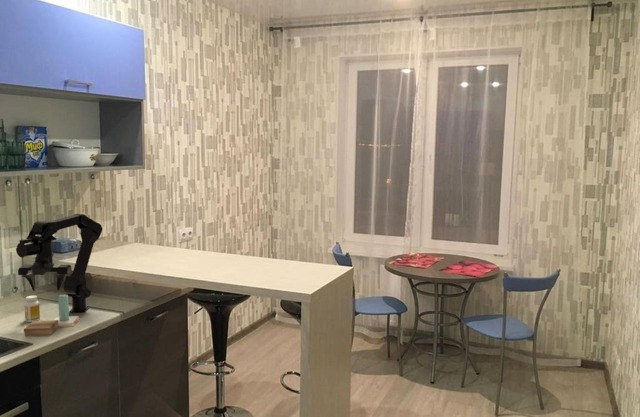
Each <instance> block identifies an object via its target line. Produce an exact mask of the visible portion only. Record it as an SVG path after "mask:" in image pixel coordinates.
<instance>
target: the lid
mask: <svg viewBox="0 0 640 417" xmlns="http://www.w3.org/2000/svg"><path fill="white" fill-rule="evenodd" d="M57 299H58V301H57V302H58V316H56V317H55V318H54V319H53V320H58V325H73V324H74V322H75V321H76V320H77V319H78V318H79V317H80V316H79V315H74V316H73V315H70V312H69V311H70V306H69V297H68V295H67V294H60V295H58V296H57Z"/></svg>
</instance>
